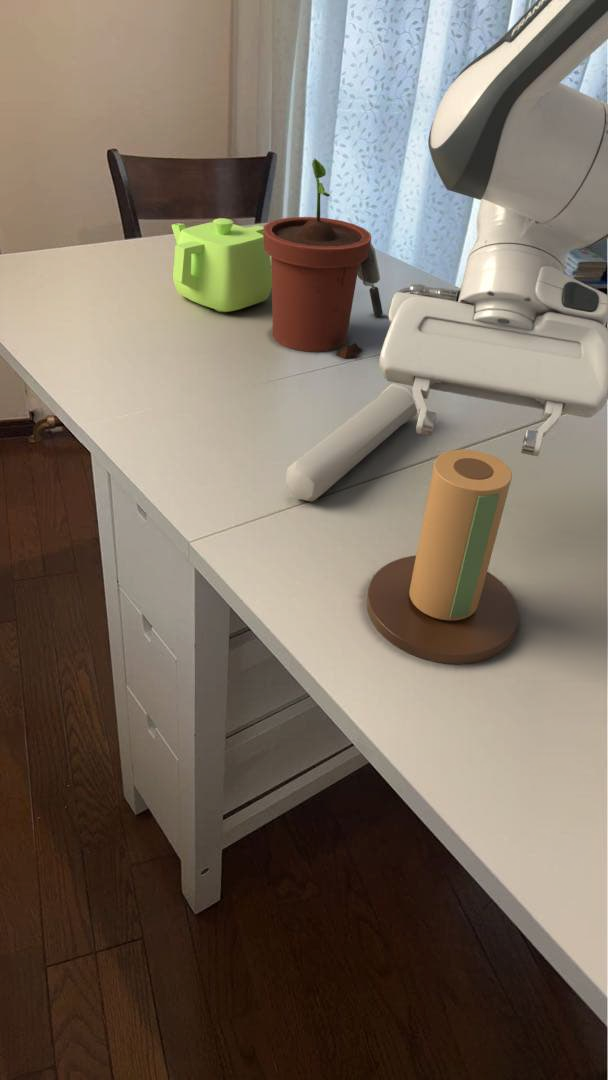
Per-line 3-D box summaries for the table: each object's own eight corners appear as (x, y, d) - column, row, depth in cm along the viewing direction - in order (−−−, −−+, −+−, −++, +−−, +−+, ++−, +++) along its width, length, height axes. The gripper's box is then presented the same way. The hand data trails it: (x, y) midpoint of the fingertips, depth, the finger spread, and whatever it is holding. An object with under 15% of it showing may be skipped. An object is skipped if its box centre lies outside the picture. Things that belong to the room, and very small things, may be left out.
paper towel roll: (452, 569, 78) (481, 443, 69) (493, 612, 73) (530, 482, 64) (396, 584, 75) (419, 455, 67) (434, 629, 70) (464, 497, 62)
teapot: (133, 294, 134) (128, 213, 126) (218, 270, 147) (218, 195, 139) (209, 327, 125) (209, 242, 117) (293, 298, 138) (298, 220, 130)
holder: (530, 592, 78) (534, 580, 77) (494, 686, 68) (498, 673, 67) (396, 548, 82) (398, 536, 81) (343, 629, 72) (344, 617, 71)
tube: (324, 485, 84) (425, 398, 101) (285, 455, 85) (391, 374, 102) (307, 518, 87) (407, 429, 105) (269, 490, 88) (375, 406, 106)
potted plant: (253, 313, 131) (258, 147, 116) (381, 314, 135) (402, 153, 120) (265, 358, 117) (272, 176, 102) (407, 358, 121) (434, 182, 106)
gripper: (395, 264, 71) (359, 409, 70) (631, 301, 68) (600, 455, 66) (396, 296, 77) (364, 431, 76) (613, 332, 74) (584, 474, 72)
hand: (476, 443), depth 71 cm, fingers open, 8 cm apart
